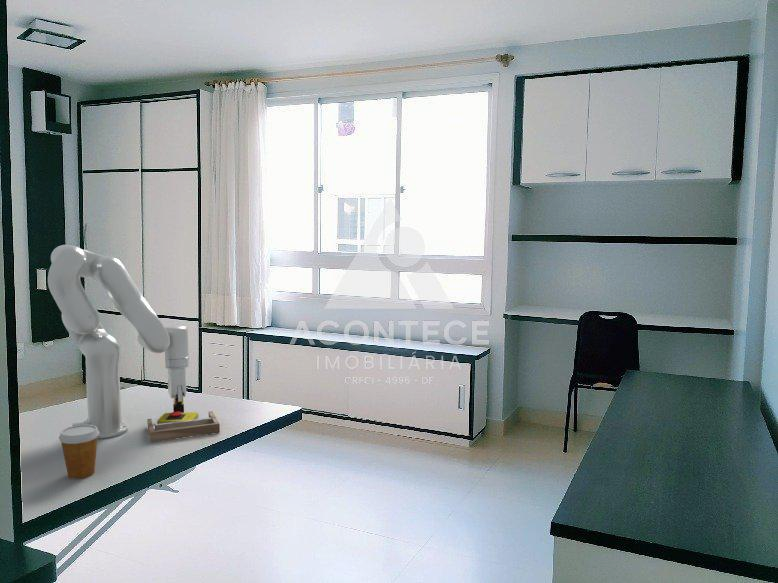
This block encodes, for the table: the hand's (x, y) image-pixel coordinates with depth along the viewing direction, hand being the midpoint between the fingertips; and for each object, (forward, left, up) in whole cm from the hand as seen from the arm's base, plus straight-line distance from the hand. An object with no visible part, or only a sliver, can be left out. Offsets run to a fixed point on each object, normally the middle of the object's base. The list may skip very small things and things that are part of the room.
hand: (178, 415), depth 208 cm
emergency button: (-1, -7, -2) cm, 7 cm away
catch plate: (0, -14, -1) cm, 14 cm away
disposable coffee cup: (-29, -38, -1) cm, 47 cm away
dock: (0, -13, -1) cm, 13 cm away
